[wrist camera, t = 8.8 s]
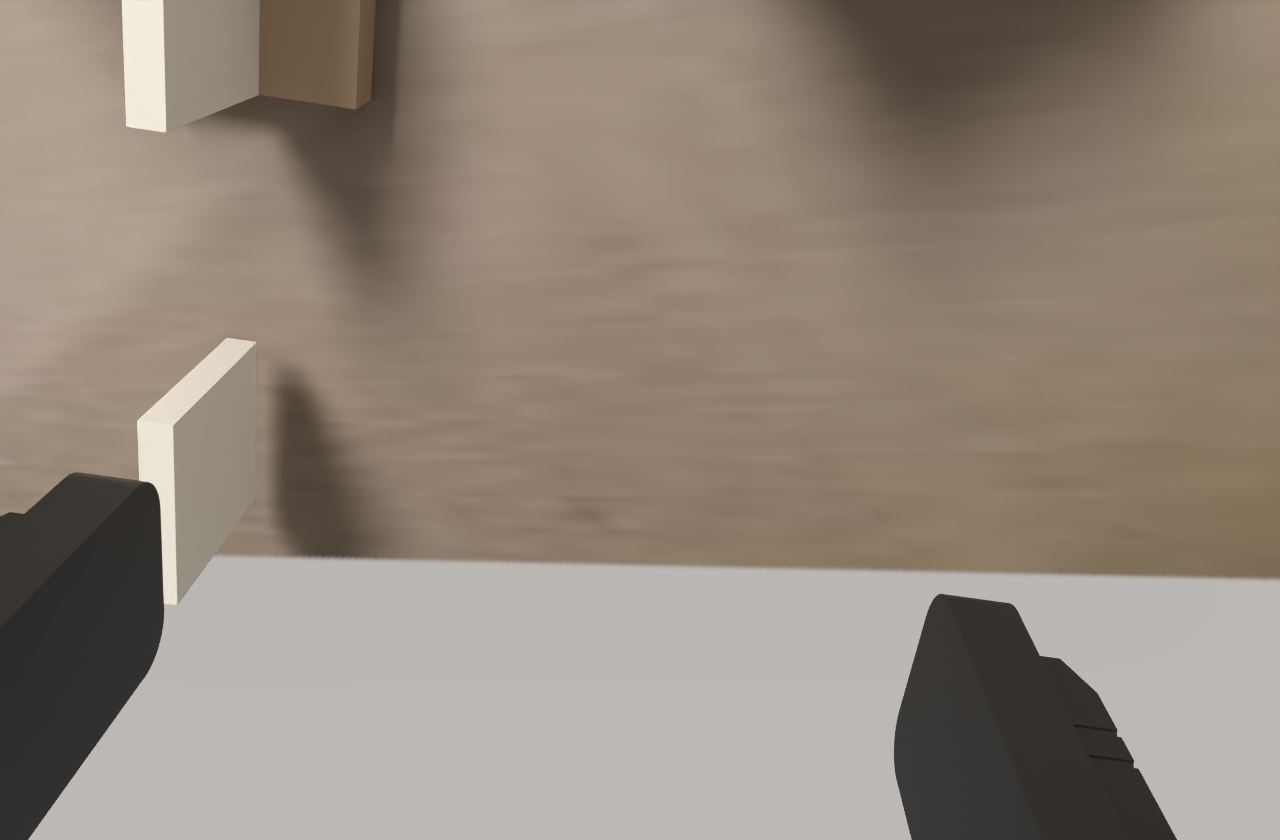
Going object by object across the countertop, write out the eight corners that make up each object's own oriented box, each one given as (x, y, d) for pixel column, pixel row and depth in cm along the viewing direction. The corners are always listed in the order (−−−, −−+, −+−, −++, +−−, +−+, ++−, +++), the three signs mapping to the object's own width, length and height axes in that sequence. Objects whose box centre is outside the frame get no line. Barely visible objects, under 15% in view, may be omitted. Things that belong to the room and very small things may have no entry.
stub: (224, 337, 38) (133, 420, 32) (256, 342, 38) (172, 425, 32) (224, 493, 41) (140, 600, 34) (255, 498, 41) (177, 605, 34)
